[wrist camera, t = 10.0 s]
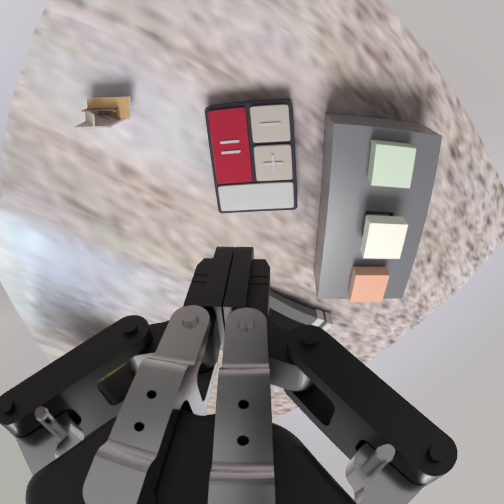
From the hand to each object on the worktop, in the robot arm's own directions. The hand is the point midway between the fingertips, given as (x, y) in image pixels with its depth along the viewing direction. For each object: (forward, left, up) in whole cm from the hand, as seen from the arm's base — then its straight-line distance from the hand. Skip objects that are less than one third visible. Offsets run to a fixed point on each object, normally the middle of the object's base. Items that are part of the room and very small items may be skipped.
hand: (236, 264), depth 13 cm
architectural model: (-3, -22, -33) cm, 39 cm away
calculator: (+5, -1, -33) cm, 33 cm away
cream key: (+12, +15, -26) cm, 33 cm away
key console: (+12, +15, -32) cm, 37 cm away
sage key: (+3, +15, -28) cm, 32 cm away
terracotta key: (+21, +15, -28) cm, 38 cm away
